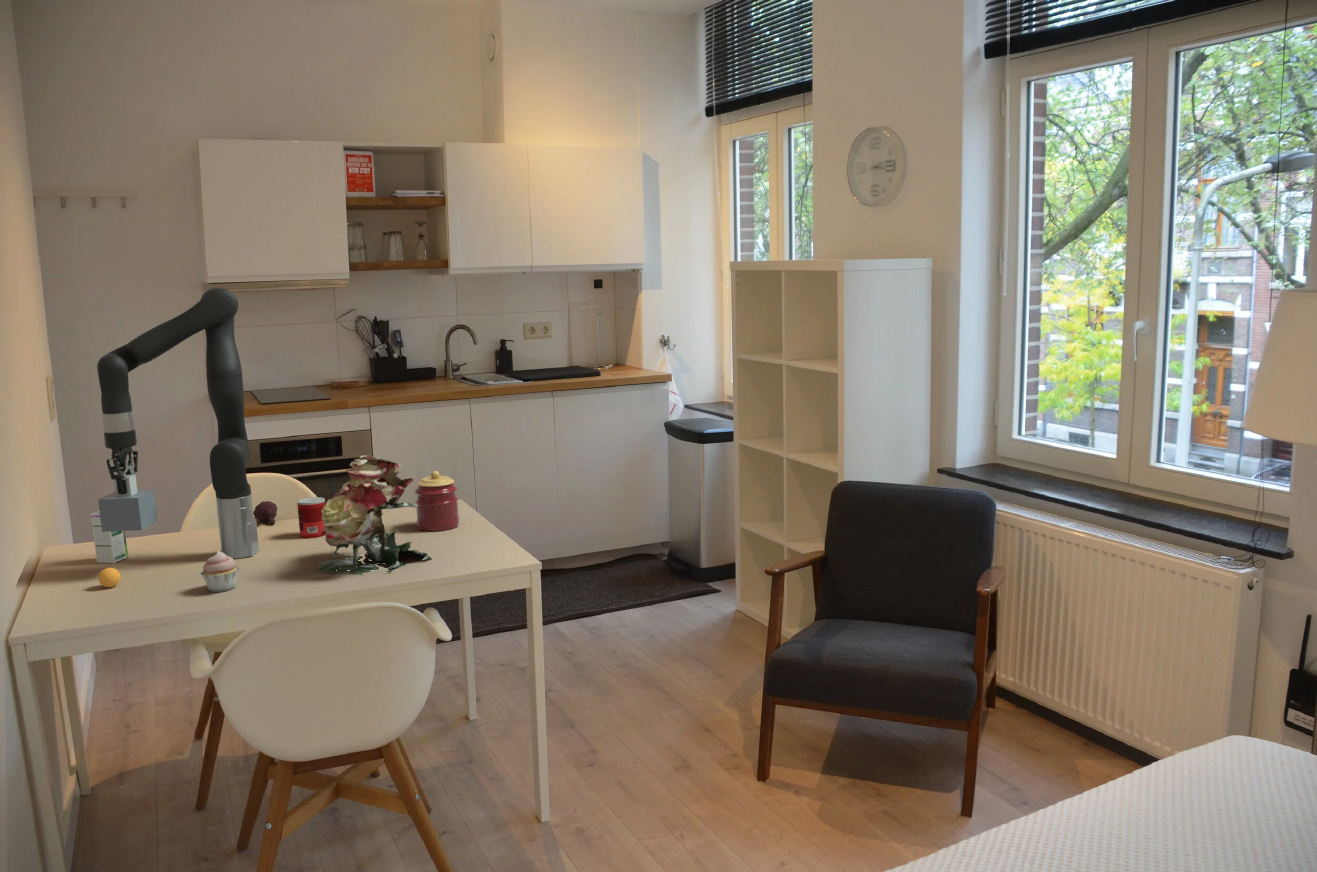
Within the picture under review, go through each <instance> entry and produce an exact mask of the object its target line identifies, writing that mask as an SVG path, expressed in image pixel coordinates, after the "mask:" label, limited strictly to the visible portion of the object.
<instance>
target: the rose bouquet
mask: <svg viewBox="0 0 1317 872" xmlns="http://www.w3.org/2000/svg"><path fill="white" fill-rule="evenodd" d="M349 467H351V468H347V469H345V472H346V474H348V476H349V477H350V478H349V481H347V482H344V483H343V484H342V486H341V489H339V491H338V492H336V493H335V494H333V497H332V498H330V499H327V501H326V502H325V506H324V507H323V509H322V510H321V512H322V513H323V514H322V520H323V522H324V524H323V525H324V528H323V531H322V535H323V534H326V535H325V539H324V540H325V542H326V544H327V545H328V546H331V547H336V548H335V550H334V551H333V553H332V555H331V557H332V558H335V557H337V556H338V555H339V552H337V551H338V550H339V549H341V548H346V549H347V548H348V547H349V546H350V545H352V555H351V556H345V557H339V558H335V559H330V560H327V561H320V562H319V563H318V572H321V573H325V574H327V573H328V574H353V575H355V574H356V575H358V574H359V575H358V576H361V575H363V576H364V575H365V574H366V573H368V572H371V571H370V570H379V567H377V566H376V565H375V564H377V563H385V564H387V565H391V566H389V567H390V568H388V569H387V570H389V571H386V572H390V573H392V569H394V568H399V567H403V566H406V565H407V564H406V562H401V561H399V560H398V559H399V557H403V556H408V555H409V556H410V555H411V556H415V557H416V556H417V557H418V558H421V557H423V558H422V561H425V560H430V559H431V560H432V557H430V556H429V555H428V553H426V552H420V551H418V550H416V549H411V544H412V543H413V542H412V541H406V542H403V543H402V544H398V545H397V542H396V535H395V534H396V533H397V532H399V531H400V529H394V530H393V531H390V532H389V533H387V532H386V528H385V525H384V523H383V519H382V517H383V514H384V513H383V512H382V510H388V511H386V514H388V513H389V510H394V509H402V508H416V507H418V506H417V505H416V503H415V504H414V503H409V502H398V501H399V500H400V498H401V497H402V496H403V494H404V493H405V491H406V488H408V487H410V486H411V483H413V482H414V478H413V477H412V478H411V477H410V478H404V479H401V478H400V477H399V476H398V475H399V474H400V473H401V472H400V471H401V464H398V462H393V461H391V460H386V459H383V458H379V457H377V456H375V455H361V456H360V457H359V458H354V459H353V461H351V462H350V464H349ZM360 547H363V549H364V551H365V552H366V551H367V552H366V554H368V555H367V560H368V559H370V560H372V561H371V563H372V562H373V563H372V564H374V565H369V564H370V563H368V564H363V563H362V562H361V561H358V560H360V559H361V558H363V557H362V556H358V555H360V554H361V553H362V552H359V549H360ZM358 552H359V553H358ZM365 552H364V553H365ZM420 556H421V557H420ZM348 557H350V558H348ZM429 557H430V558H429ZM346 558H348V559H346ZM405 564H406V565H405ZM387 565H386V566H387ZM402 565H403V566H402ZM336 570H337V571H336ZM347 570H350V571H347ZM362 573H364V574H362ZM374 573H377V572H376V571H375V572H374Z"/></svg>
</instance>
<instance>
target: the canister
mask: <svg viewBox="0 0 1317 872" xmlns="http://www.w3.org/2000/svg"><path fill="white" fill-rule="evenodd" d="M454 483H455V479H452V477H450V476H447V475H440V473H439V471H438V470H433V471H432V472H431V474H430V476H426V477H423V478H421V480H418V482H417V483H416V484H417V488H416V489H415V490H414V493H415V494H416V500H415V505H417V506H418V507H415V508H416V525H417V528H418V529H419V530H421V531H426V532H441V531H447V530H452V529H455V528H458V527H459V525H460V516H459V515H460V514H459V503H458V502H459V501H458V500H459V498H458V496H457V491H458V486H456V485H454Z"/></svg>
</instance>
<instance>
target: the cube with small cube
mask: <svg viewBox="0 0 1317 872" xmlns="http://www.w3.org/2000/svg"><path fill="white" fill-rule="evenodd" d="M113 484H114V491H113V492H111V493H109V494H107V495H105V496H103V497H100V498H98V500H97V501H98V511H100V519H101V528H102V532H111V531H125V532H127V531H128V532H129V531H130V532H131V531H143V530H144V529H147V528H148V527H150V526H152V525H153V524H154V523H156V522H158V515H157V505H156V495H155V489H138V485H137V484H138V483H137V475H136V474H135V475H126V485H127V493H126V494H118V491H117V482H116V481H115V480H113Z"/></svg>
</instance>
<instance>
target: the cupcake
mask: <svg viewBox="0 0 1317 872" xmlns="http://www.w3.org/2000/svg"><path fill="white" fill-rule="evenodd" d="M240 569H241V567H239V566H238V565H236V562H235V558H234V559H233V558H231V557H229V556H226V555H225V554H224V553H222V552H221V550H220V551H219V550H216V551H215V555H213V556H211V557H209V558H208V559H207V560H206V563H204V565H202V572H200V573H199V574H200V575H201V576H202V578H203V579H204V582H205V585H206V586H207V589H208V591H209V592H211V593H212V592H213V593H222V592H228V591H231V590H233V589H234V588H236V585H237V579H238V576H239V572H240Z"/></svg>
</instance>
